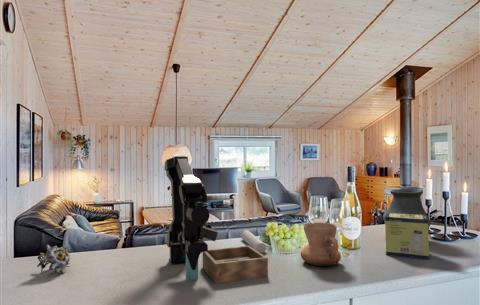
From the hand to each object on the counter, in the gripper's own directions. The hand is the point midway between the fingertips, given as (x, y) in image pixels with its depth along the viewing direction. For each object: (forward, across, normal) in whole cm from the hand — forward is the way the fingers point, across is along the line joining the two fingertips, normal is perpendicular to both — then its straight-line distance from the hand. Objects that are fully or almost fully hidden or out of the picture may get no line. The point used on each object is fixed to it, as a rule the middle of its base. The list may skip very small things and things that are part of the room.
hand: (191, 267), depth 110 cm
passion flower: (+4, +23, +44) cm, 50 cm away
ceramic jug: (+4, -2, -48) cm, 48 cm away
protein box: (+4, -4, -87) cm, 87 cm away
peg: (+4, 0, 0) cm, 4 cm away
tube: (+4, +30, -34) cm, 46 cm away
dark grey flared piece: (+4, +14, -106) cm, 107 cm away
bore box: (+4, +2, -15) cm, 15 cm away
